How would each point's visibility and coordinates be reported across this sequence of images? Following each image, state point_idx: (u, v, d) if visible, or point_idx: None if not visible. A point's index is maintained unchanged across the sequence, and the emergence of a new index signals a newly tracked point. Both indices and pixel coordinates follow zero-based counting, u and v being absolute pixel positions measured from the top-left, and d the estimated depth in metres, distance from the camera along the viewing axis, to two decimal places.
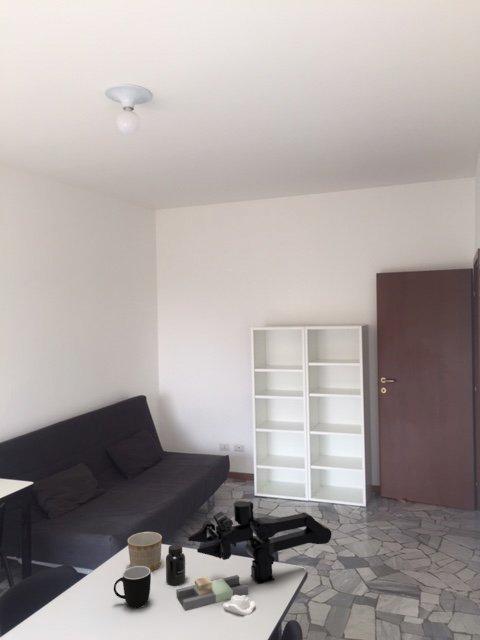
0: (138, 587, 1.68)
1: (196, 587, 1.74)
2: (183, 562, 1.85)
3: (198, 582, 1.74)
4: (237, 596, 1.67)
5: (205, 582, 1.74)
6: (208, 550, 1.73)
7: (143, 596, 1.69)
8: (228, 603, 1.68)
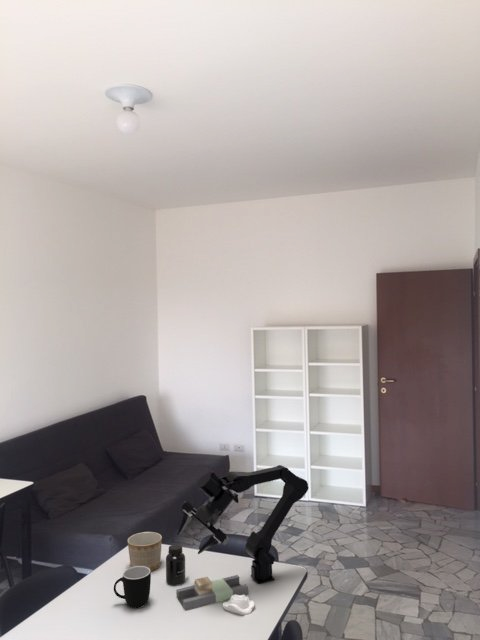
0: (138, 587, 1.68)
1: (196, 587, 1.74)
2: (183, 562, 1.85)
3: (198, 582, 1.74)
4: (236, 596, 1.68)
5: (205, 582, 1.74)
6: (207, 547, 1.73)
7: (143, 596, 1.69)
8: (228, 603, 1.69)
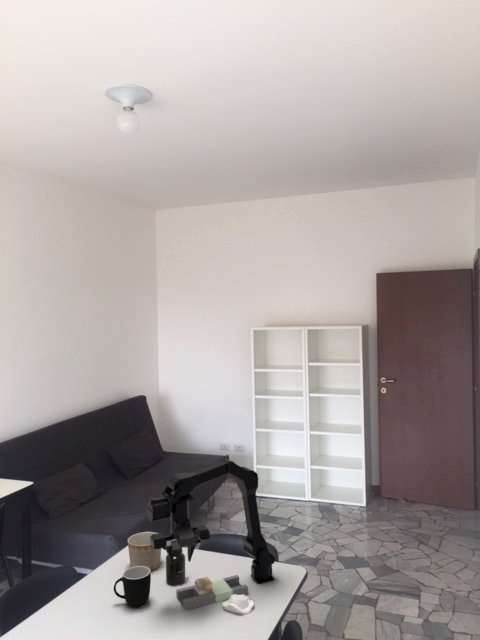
0: (138, 587, 1.68)
1: (196, 587, 1.74)
2: (183, 562, 1.85)
3: (198, 582, 1.74)
4: (236, 595, 1.68)
5: (205, 582, 1.74)
6: None
7: (143, 596, 1.69)
8: (227, 602, 1.69)
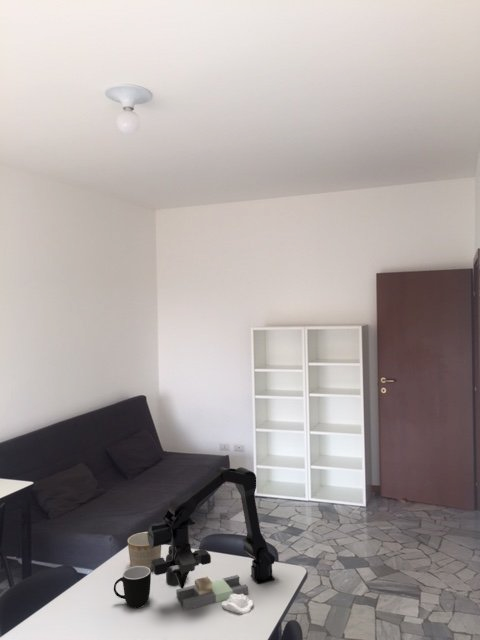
0: (138, 587, 1.68)
1: (196, 587, 1.74)
2: None
3: (198, 582, 1.74)
4: (235, 595, 1.68)
5: (205, 582, 1.74)
6: None
7: (143, 596, 1.69)
8: (226, 602, 1.69)
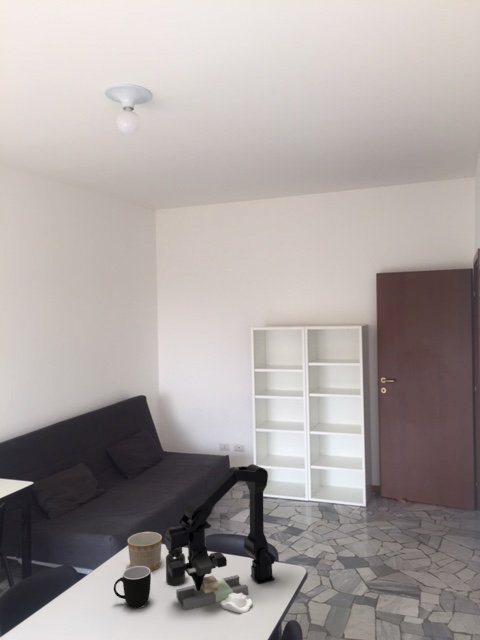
0: (138, 587, 1.68)
1: (202, 586, 1.75)
2: (183, 562, 1.85)
3: (204, 581, 1.74)
4: (234, 594, 1.69)
5: (211, 580, 1.75)
6: None
7: (143, 596, 1.69)
8: (225, 601, 1.70)
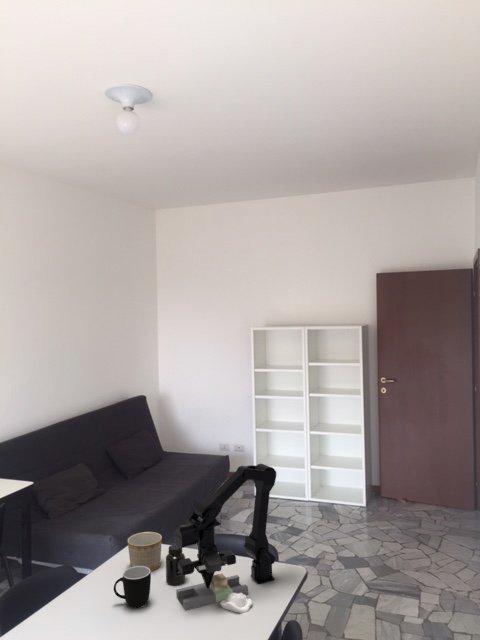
0: (138, 587, 1.68)
1: (211, 583, 1.76)
2: None
3: (213, 579, 1.76)
4: (234, 594, 1.69)
5: (220, 578, 1.76)
6: None
7: (143, 596, 1.69)
8: (225, 601, 1.70)
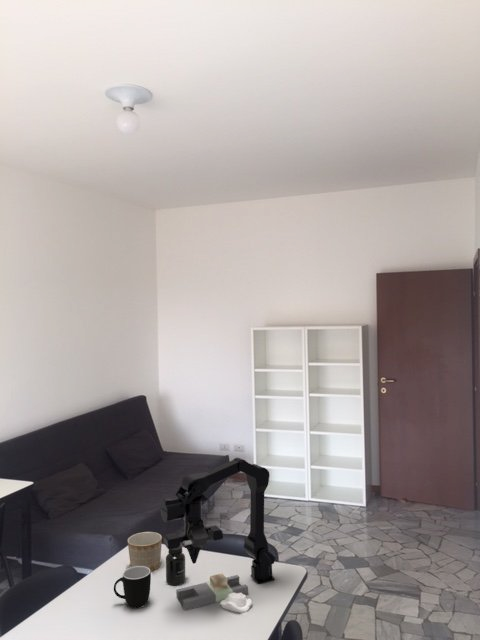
0: (138, 587, 1.68)
1: (211, 583, 1.76)
2: (183, 562, 1.85)
3: (213, 579, 1.76)
4: (234, 594, 1.69)
5: (220, 578, 1.76)
6: None
7: (143, 596, 1.69)
8: (225, 601, 1.70)
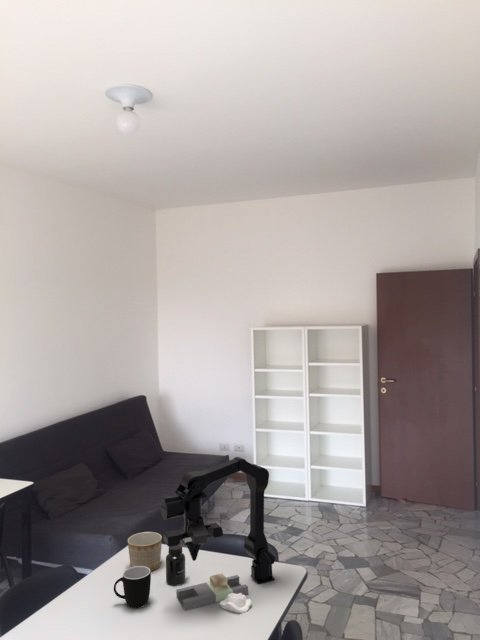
0: (138, 587, 1.68)
1: (211, 583, 1.76)
2: (183, 562, 1.85)
3: (213, 579, 1.76)
4: (233, 594, 1.69)
5: (220, 578, 1.76)
6: None
7: (143, 596, 1.69)
8: (224, 601, 1.70)
